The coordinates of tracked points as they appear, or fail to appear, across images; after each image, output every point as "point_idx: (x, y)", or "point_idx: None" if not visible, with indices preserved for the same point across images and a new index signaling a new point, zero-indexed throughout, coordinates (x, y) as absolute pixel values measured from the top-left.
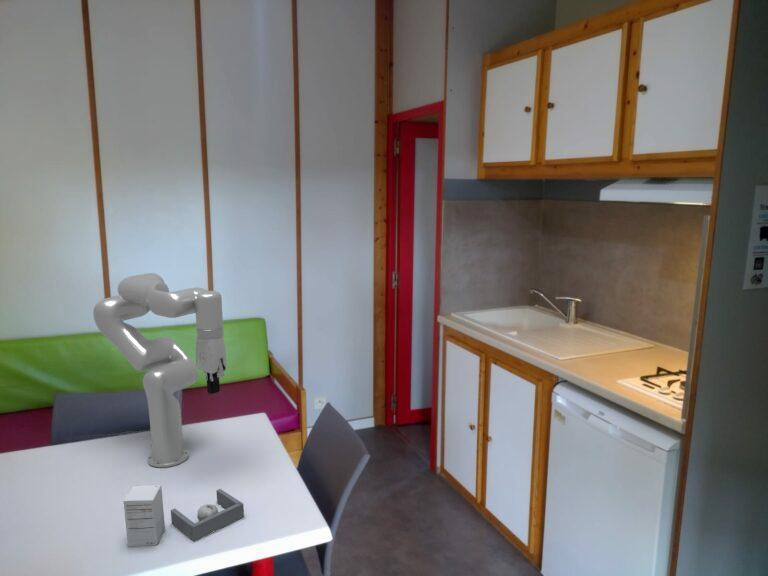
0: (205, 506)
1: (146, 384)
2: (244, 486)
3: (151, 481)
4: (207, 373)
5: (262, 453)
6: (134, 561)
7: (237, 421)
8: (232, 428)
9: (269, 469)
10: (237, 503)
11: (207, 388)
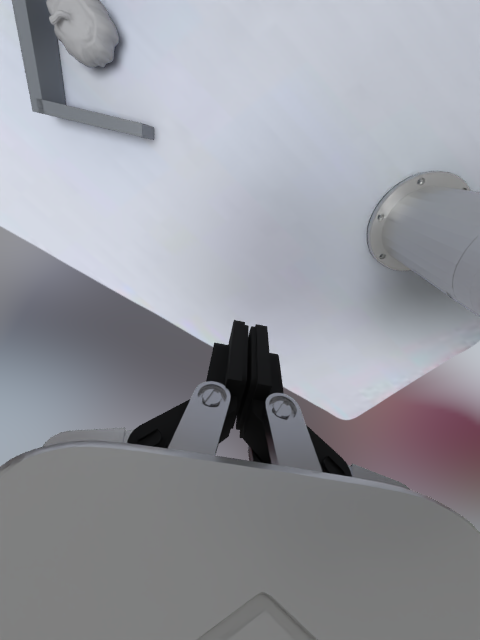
0: (76, 14)
1: None
2: (169, 222)
3: (384, 108)
4: (272, 449)
5: None
6: None
7: (368, 394)
8: (360, 374)
9: (184, 296)
10: (42, 101)
11: (265, 341)
